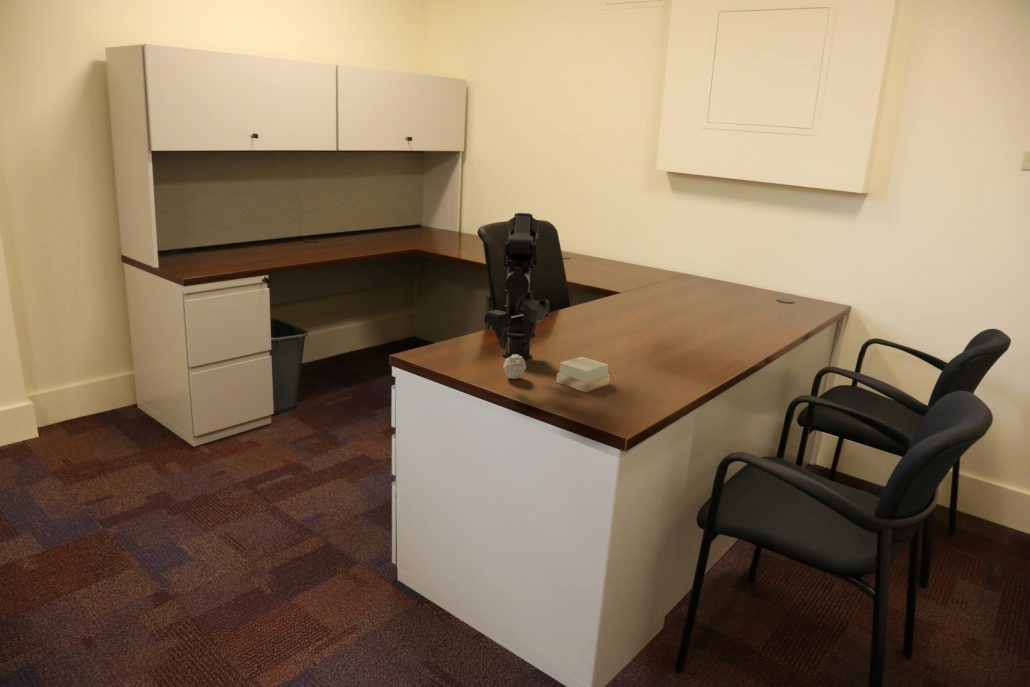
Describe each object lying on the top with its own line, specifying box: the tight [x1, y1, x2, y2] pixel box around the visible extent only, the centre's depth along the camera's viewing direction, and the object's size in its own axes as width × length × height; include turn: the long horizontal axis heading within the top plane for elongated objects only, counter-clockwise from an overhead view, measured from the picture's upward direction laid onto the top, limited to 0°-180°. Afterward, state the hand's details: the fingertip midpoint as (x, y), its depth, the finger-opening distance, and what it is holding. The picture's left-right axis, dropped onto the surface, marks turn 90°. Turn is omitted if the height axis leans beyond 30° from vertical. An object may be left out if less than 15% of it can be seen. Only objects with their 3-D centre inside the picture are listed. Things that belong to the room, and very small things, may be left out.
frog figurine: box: [502, 354, 527, 380], centre depth 191 cm, size 6×7×7 cm
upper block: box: [558, 356, 609, 382], centre depth 190 cm, size 9×9×3 cm
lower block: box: [556, 372, 611, 393], centre depth 191 cm, size 10×10×3 cm
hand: (515, 345), depth 189 cm, fingers open, 9 cm apart
